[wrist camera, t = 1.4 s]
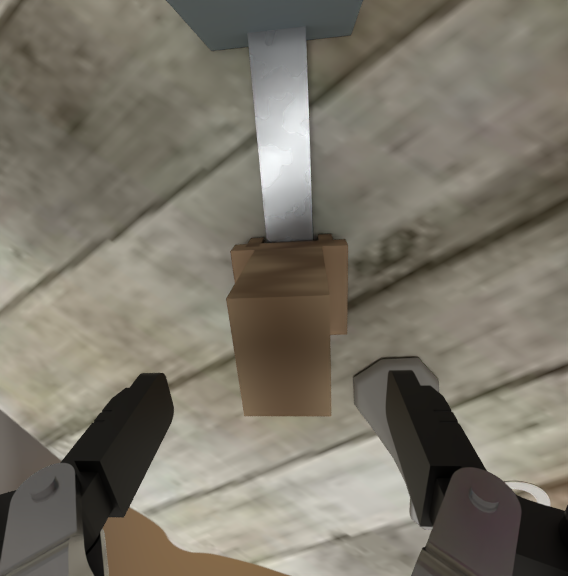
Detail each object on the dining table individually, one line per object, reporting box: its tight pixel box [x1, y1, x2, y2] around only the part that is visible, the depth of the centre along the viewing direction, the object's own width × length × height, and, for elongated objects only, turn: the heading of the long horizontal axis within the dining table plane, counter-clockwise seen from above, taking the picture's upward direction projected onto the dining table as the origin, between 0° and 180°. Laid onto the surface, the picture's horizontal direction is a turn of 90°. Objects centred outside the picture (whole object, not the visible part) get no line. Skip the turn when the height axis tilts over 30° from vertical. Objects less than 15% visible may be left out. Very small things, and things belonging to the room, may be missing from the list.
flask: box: [354, 358, 439, 530], centre depth 22 cm, size 7×7×10 cm
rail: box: [247, 26, 313, 243], centre depth 19 cm, size 3×20×5 cm, turn 4°
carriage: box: [226, 234, 348, 416], centre depth 18 cm, size 7×6×10 cm
